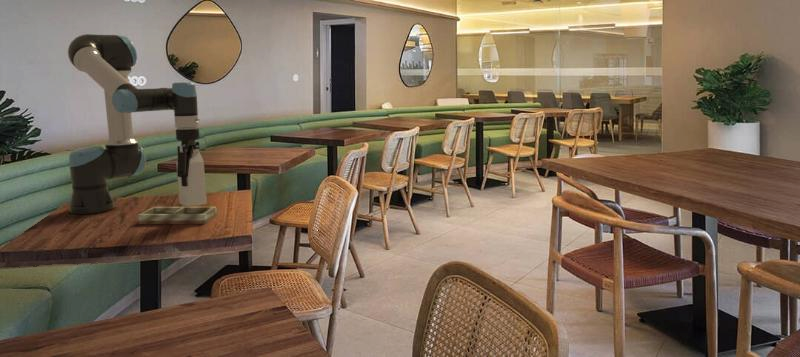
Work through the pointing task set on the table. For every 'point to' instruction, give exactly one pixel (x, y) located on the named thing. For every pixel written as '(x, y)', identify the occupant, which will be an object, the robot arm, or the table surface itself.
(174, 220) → the board
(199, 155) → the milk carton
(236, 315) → the table surface
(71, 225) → the table surface
